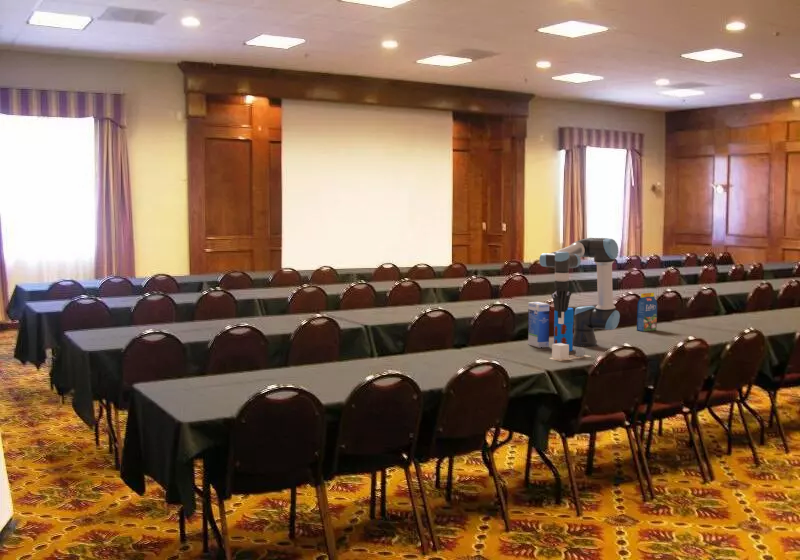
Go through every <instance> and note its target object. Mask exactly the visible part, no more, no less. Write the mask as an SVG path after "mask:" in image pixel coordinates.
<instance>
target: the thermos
mask: <svg viewBox="0 0 800 560" xmlns="http://www.w3.org/2000/svg"><path fill="white" fill-rule="evenodd" d="M574 314H575V310H574V308H573V307H568V310H566V312H565V317H564V324H558V312H557V311H555V310H554V317H553V318H554V319H553V321H554V322H553V329H554V330H553V344H557V343H563V344H568V345H569V352H572V351H573V349H574V345H573V334H574V316H575V315H574Z"/></svg>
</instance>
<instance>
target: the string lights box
mask: <svg viewBox="0 0 800 560" xmlns="http://www.w3.org/2000/svg"><path fill="white" fill-rule="evenodd" d="M527 304H528V306H527V311H528V313H527V314H528V316H527V320H528V322H527V323H528V324H527V325H528V328H527V331H528V333H527V339H528V340H527V343H528V345H529V346H531V347H535V348H537V349H538V348H541V347H542V348H550V303H546V302H541V301H531V302H530V301H529V302H527ZM542 348H541V349H542Z"/></svg>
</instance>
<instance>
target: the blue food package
mask: <svg viewBox="0 0 800 560" xmlns="http://www.w3.org/2000/svg"><path fill="white" fill-rule="evenodd" d="M636 306H637V309H636V310H637V311H636V331H639V332H653V331H657V328H658V327H657V325H658V324H657V323H658V322H657V321H658V320H657V319H658V301H657V299H656V297H655V292H644V293H643V292H642V293H640V298H639V300H638V301H637V305H636Z"/></svg>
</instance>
